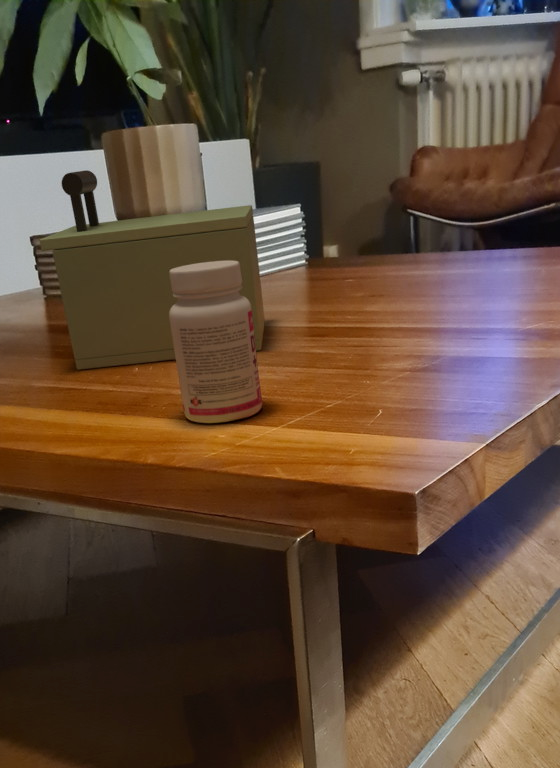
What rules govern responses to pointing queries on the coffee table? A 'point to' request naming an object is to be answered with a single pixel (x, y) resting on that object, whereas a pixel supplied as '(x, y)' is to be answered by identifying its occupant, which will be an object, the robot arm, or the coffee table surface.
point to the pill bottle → (214, 343)
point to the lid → (133, 220)
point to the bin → (143, 292)
